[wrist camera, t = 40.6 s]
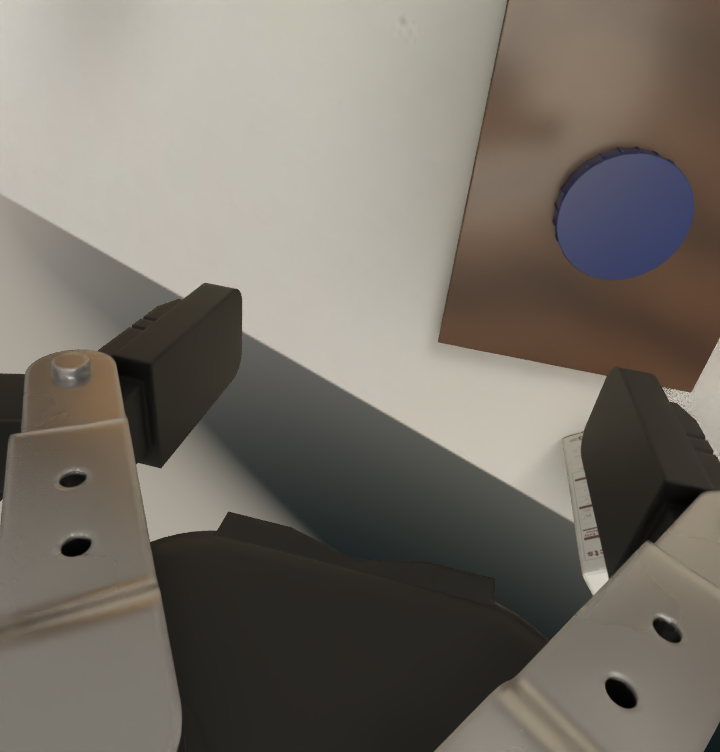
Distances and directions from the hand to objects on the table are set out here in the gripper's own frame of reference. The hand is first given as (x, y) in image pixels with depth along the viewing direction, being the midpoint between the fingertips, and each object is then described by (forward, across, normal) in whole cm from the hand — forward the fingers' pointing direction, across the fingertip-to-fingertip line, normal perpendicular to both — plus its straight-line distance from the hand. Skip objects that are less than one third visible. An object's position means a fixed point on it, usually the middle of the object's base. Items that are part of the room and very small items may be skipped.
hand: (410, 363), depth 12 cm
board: (+23, -9, 0) cm, 25 cm away
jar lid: (+20, -9, 0) cm, 22 cm away
